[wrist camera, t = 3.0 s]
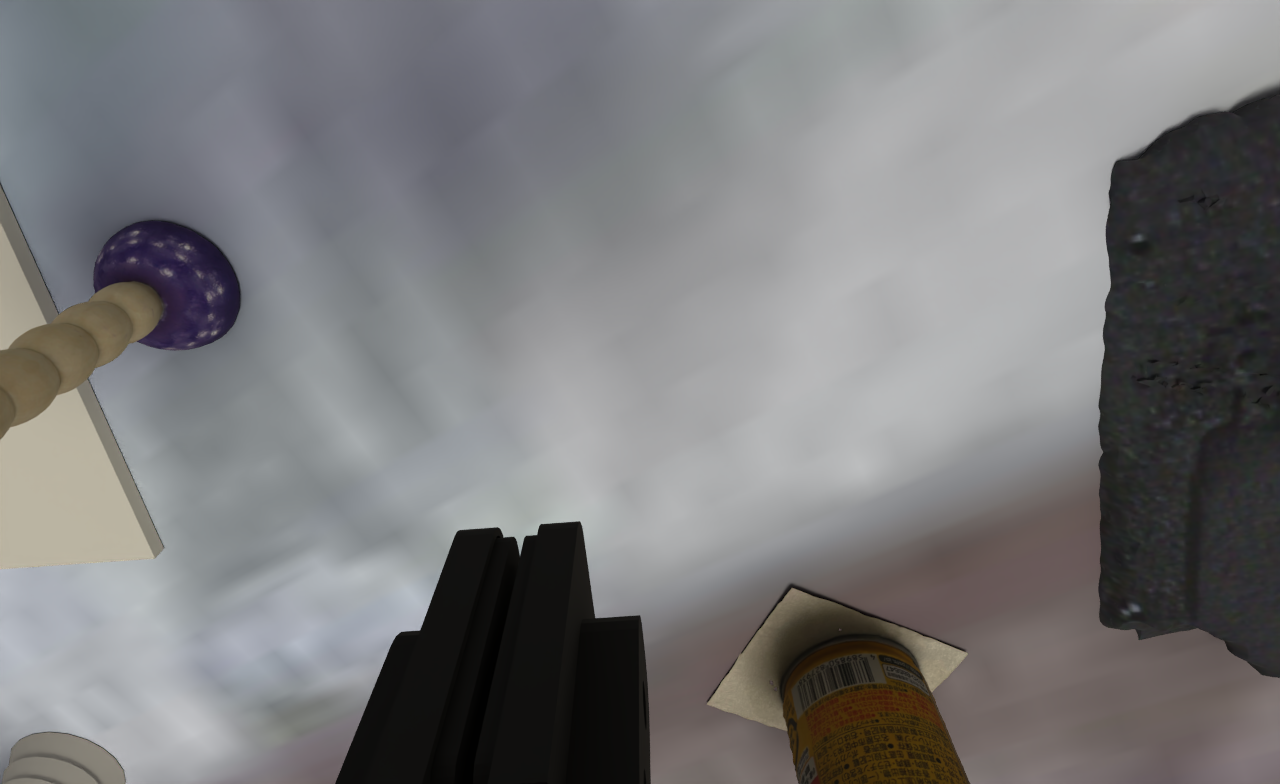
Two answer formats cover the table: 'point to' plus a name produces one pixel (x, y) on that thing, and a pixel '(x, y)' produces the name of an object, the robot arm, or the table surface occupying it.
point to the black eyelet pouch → (1195, 387)
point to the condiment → (847, 695)
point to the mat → (60, 452)
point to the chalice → (61, 762)
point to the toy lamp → (123, 315)
